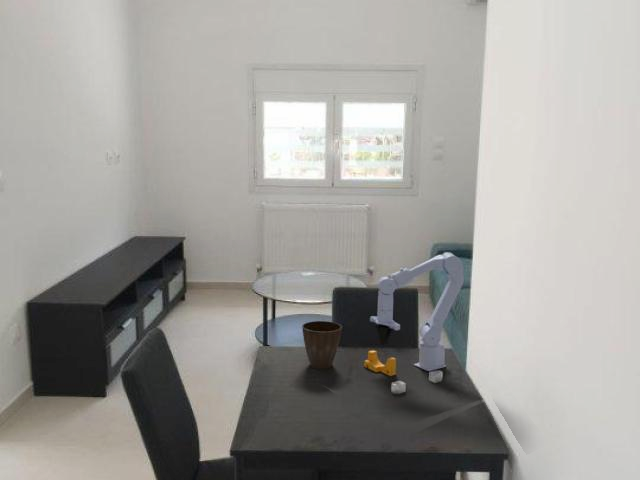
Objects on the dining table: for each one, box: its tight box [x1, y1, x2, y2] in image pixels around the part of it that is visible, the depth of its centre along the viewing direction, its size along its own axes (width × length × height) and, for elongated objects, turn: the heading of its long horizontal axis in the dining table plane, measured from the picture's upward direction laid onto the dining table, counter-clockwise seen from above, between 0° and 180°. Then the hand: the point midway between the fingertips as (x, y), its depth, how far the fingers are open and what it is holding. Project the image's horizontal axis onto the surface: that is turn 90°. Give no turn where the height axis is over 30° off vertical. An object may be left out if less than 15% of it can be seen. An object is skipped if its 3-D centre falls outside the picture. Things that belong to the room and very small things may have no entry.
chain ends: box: [390, 369, 443, 395], centre depth 209 cm, size 24×3×3 cm, turn 126°
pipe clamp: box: [363, 349, 397, 377], centre depth 222 cm, size 12×4×6 cm, turn 40°
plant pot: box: [301, 320, 343, 370], centre depth 225 cm, size 15×15×16 cm
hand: (384, 344), depth 225 cm, fingers closed
